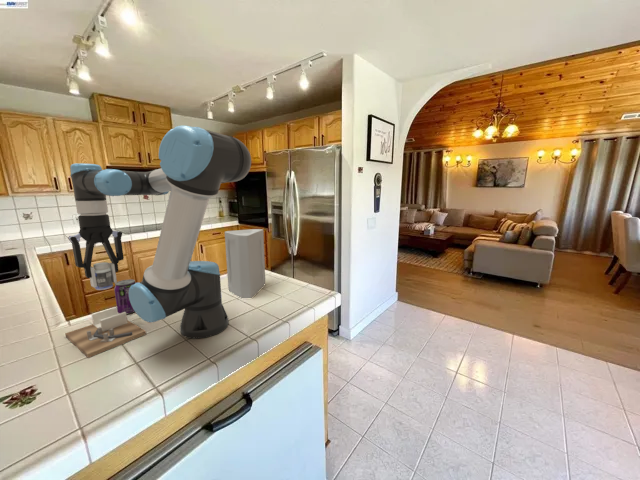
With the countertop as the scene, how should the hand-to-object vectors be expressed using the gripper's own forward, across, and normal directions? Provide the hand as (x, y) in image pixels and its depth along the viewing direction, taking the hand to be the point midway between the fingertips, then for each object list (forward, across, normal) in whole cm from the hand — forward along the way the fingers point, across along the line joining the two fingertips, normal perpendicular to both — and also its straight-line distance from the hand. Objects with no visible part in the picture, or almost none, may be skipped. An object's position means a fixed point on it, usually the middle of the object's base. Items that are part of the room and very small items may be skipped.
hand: (104, 283), depth 88 cm
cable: (+15, +3, +8) cm, 17 cm away
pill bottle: (+2, 0, 0) cm, 2 cm away
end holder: (+15, 0, 0) cm, 15 cm away
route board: (+16, +3, +5) cm, 17 cm away
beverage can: (+16, -9, -9) cm, 20 cm away
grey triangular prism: (+16, -49, +11) cm, 53 cm away
